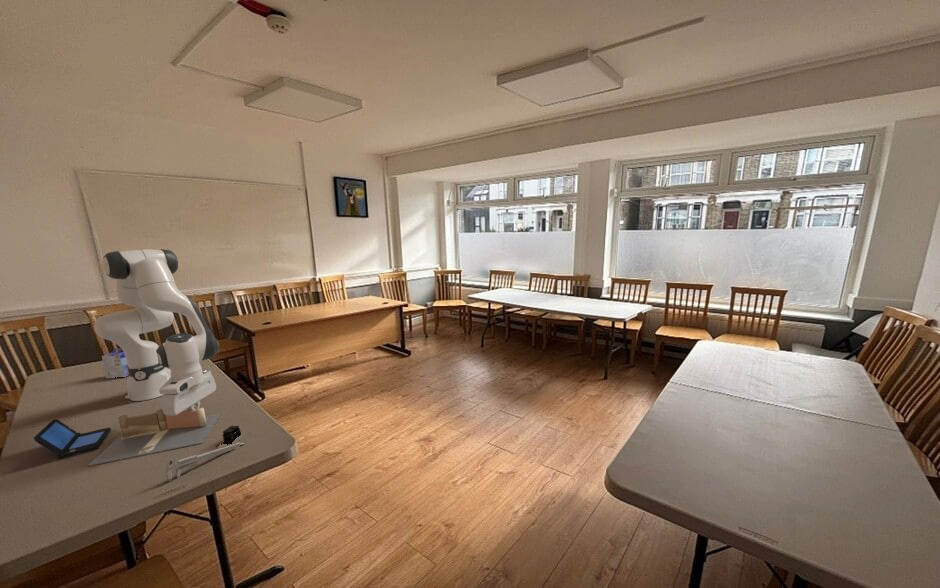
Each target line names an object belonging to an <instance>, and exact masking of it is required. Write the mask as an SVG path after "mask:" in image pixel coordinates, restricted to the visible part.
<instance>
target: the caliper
mask: <svg viewBox="0 0 940 588" xmlns="http://www.w3.org/2000/svg"><path fill="white" fill-rule="evenodd" d="M242 444H244V442H240V441H238V442H237V443H235V444H232V445H229V446H226V447H223V448H216V449H214V450H210V451H208V452H204V453H202V454H198V455H197V454H196V455H191V456H188V457H185V458H182V459H178V458H177V457H174V459H173V460H172V459H171V458H170V459H169V463H168V464H166V470H165V474H166V477H167V481H169V482H172V481H173V473H174V470H175V478H176V479H179V478H180V477H181V475H182V472H183V469H184V468H190V467H193V466H196V465H197V464H198V462H201V461H204V460H207V459H210V458H213V457H215V456H219V455H222V454H224V453H227V452H230V451H234V450H236V449H235V448H237V447H239V446H240V445H242ZM244 445H245V444H244ZM242 446H243V445H242ZM239 448H240V447H239ZM233 449H234V450H233ZM237 449H238V448H237Z"/></svg>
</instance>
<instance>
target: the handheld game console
mask: <svg viewBox="0 0 940 588" xmlns="http://www.w3.org/2000/svg"><path fill="white" fill-rule="evenodd" d="M111 431H112V428H111V427H105V428H100V429H96V430H92V431H88V432H84V433H83V432H82V433H81V432H77V431H75V429H73V428H70V427H69V425H66V424H65V423H63V422H62V421H60V420H58V419H57V418H56V419H52V420H51V421H50V422H49V423H48V424H47V425H46V426H44V427H43V428H42V429H41V430H40V431H39V432H38V433H37V434H36V435H35V436H34V437H33V440H34V442H36V443H37V444H39V445H41V447H44V448H45V449H46V450H48V451H50V452H52V453H54V454H55V455H57V459H58V460H62V459H65V457H66V458H69V456H70V457H72V456H73V455H74V456H77V454H78V455H81V453H82V454H85V452H86V453H89V451H90V452H93V451H96V450H98V449H99V448H100V447H101V446H102V444H103V443H104V442H105V440H106V439H107V437H108V435H109V434H110V432H111ZM61 458H62V459H61Z"/></svg>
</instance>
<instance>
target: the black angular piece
mask: <svg viewBox="0 0 940 588" xmlns="http://www.w3.org/2000/svg"><path fill="white" fill-rule="evenodd" d="M241 432H242V431H241V428H240V426H239V425H230V426H228V427H227V428H225V429H224V430H223V431H222V438H223V441H224V442H223V441H221V442H222V443H221V442H220V443H221V445H222V444H227V445H228V444H232V442H233V441H234V440H235V439H236V438H237V437H239V436H240V435H241ZM220 443H218V444H219V445H220Z"/></svg>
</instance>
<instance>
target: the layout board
mask: <svg viewBox="0 0 940 588" xmlns="http://www.w3.org/2000/svg"><path fill="white" fill-rule="evenodd" d="M220 414H221V413H217V414H212V415H210V414H209V415H205V417H206V423H207V425H205V426H202V427H201V426H198V427H186V428H174V429H167V430H164V431H161V430H160V431H155V432H150V433H144V434H139V435H134V436H130V437H127V438H123V436H122V434H121V435H119V436H118V437H117V438H116V439H115V440H114V441H113V442H111V444H110V445H109V446H107V447H106V448H105V449H104V450H103V451H102V452H101V453H100V454H99V455H98V456H96V457H95V458H94V460H92V461H91V462H90V463H89V464H88V465H87V466H89V467H93V466H92V465H94V466H97V465H96V464H99V465H103V464H102V463H104V464H108V463H107V462H109V463H113V462H112V461H114V462H117V461H116V460H119V461H122V459H124V460H127V459H128V458H129V459H133V458H138V457H142V456H147V455H148V456H149V455H154V454H159V453H162V452H163V453H164V452H167V451H172V450H178V449H182V447H183V448H188V447H191V446H196V445H197V444H198V445H202V444H203V442H205V440H206V439H207V436H209V434H210V433H211V431H212V429H213V428H214V426H215V425H216V423H217V422H218V420H219V419H220V417H221V416H220ZM219 416H220V417H219ZM218 418H219V419H218ZM217 419H218V420H217ZM216 421H217V422H216ZM215 422H216V423H215ZM214 424H215V425H214ZM212 427H213V428H212Z"/></svg>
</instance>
